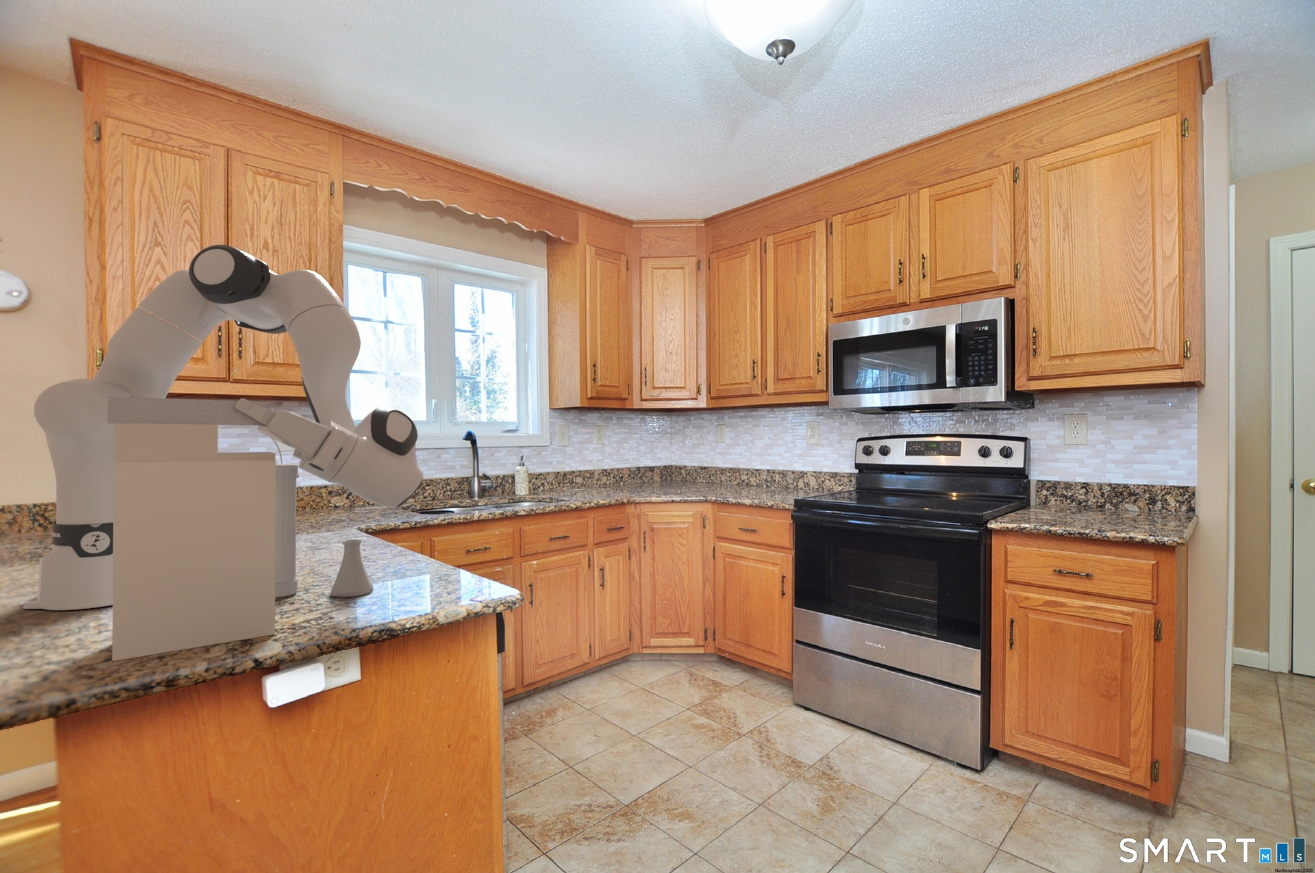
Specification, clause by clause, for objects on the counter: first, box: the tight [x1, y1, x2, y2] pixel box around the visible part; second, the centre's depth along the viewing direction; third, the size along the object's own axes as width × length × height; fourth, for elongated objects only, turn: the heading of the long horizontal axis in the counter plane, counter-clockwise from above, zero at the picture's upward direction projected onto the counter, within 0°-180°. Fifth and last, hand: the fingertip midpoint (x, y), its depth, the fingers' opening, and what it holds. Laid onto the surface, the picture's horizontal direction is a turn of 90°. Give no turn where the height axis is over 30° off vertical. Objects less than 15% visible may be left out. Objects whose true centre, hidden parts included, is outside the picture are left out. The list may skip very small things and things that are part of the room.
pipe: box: [269, 437, 300, 599], centre depth 112 cm, size 6×6×30 cm
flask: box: [329, 538, 374, 598], centre depth 113 cm, size 7×7×10 cm
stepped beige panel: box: [111, 423, 277, 662], centre depth 88 cm, size 10×18×31 cm, turn 128°
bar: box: [108, 397, 268, 427], centre depth 87 cm, size 4×18×4 cm, turn 128°
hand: (235, 403), depth 91 cm, fingers open, 8 cm apart
